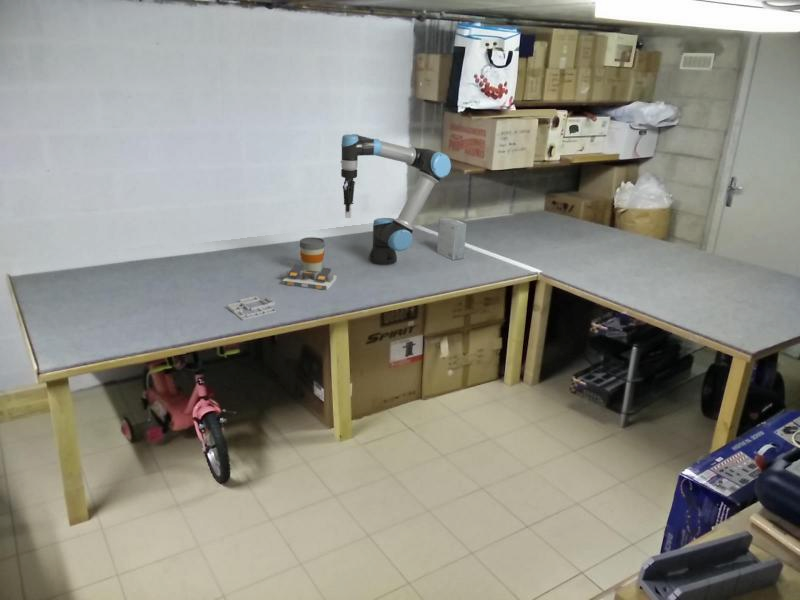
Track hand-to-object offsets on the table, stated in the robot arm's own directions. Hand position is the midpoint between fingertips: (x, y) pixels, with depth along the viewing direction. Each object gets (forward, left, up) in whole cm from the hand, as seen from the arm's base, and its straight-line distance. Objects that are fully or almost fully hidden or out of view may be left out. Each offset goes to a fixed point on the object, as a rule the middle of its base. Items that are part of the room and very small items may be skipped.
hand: (348, 217), depth 302 cm
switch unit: (+14, +16, -29) cm, 36 cm away
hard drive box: (-46, -49, -30) cm, 73 cm away
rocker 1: (+21, +16, -25) cm, 36 cm away
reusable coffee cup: (+19, -2, -30) cm, 35 cm away
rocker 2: (+7, +16, -25) cm, 30 cm away
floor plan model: (+29, +52, -30) cm, 67 cm away
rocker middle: (+14, +16, -25) cm, 33 cm away
